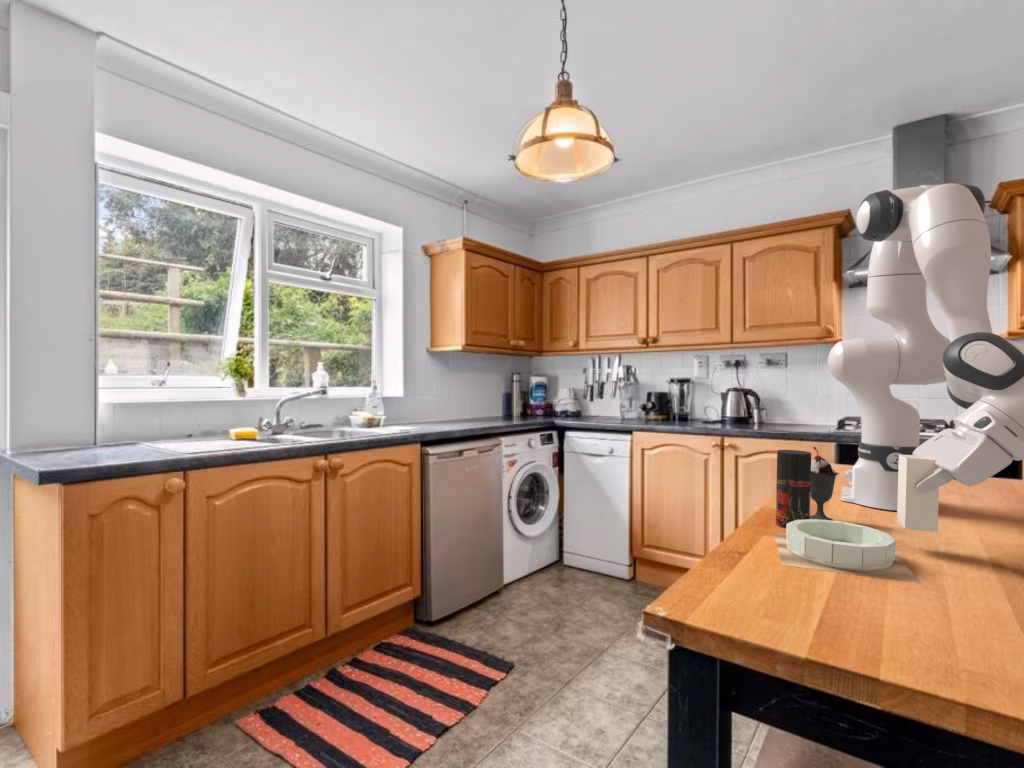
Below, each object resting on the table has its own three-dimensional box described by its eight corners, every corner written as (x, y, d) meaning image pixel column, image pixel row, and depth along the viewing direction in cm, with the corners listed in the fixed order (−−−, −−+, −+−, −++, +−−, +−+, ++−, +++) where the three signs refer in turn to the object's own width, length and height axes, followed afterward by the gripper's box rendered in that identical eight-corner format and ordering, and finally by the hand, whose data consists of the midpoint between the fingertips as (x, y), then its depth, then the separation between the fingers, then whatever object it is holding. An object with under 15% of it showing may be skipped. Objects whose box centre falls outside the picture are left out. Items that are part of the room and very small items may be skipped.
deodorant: (814, 533, 102) (815, 454, 102) (780, 531, 104) (782, 453, 103) (803, 524, 108) (805, 450, 108) (772, 522, 109) (773, 449, 109)
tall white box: (897, 522, 95) (898, 454, 94) (927, 525, 93) (929, 456, 93) (905, 529, 91) (906, 458, 90) (937, 532, 89) (939, 459, 89)
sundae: (807, 513, 117) (808, 444, 116) (842, 519, 112) (844, 448, 112) (796, 519, 112) (798, 447, 112) (833, 526, 107) (834, 451, 107)
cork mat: (772, 535, 101) (772, 533, 101) (886, 547, 94) (886, 545, 94) (782, 567, 84) (782, 564, 84) (921, 585, 78) (921, 582, 78)
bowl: (782, 536, 99) (783, 515, 99) (878, 546, 93) (879, 525, 93) (792, 563, 85) (792, 539, 85) (905, 577, 79) (906, 551, 79)
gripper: (946, 413, 98) (881, 462, 102) (999, 423, 79) (917, 483, 83) (975, 439, 97) (909, 488, 101) (1037, 455, 78) (952, 515, 82)
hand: (913, 486), depth 92 cm, fingers closed on tall white box, 4 cm apart
